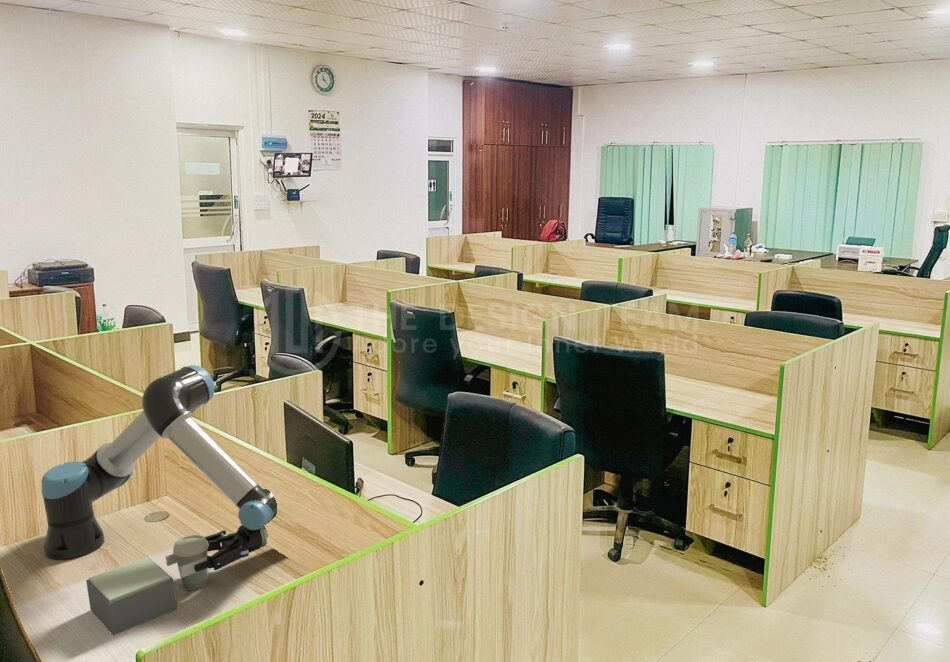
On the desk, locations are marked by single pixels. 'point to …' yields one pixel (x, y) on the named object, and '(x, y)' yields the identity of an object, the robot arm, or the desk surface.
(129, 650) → the desk surface
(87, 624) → the desk surface
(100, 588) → the block
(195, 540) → the coffee cup
